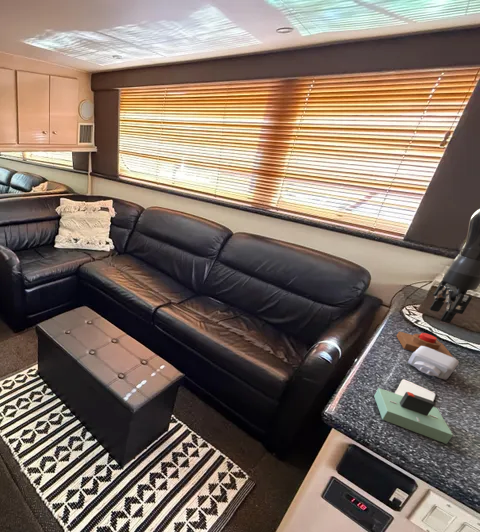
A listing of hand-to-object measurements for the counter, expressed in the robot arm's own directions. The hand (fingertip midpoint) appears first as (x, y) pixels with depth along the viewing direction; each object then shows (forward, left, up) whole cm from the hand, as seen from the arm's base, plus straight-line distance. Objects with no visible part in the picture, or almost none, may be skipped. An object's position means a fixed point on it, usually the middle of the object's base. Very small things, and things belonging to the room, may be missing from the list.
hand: (438, 315), depth 105 cm
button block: (-3, -7, -16) cm, 18 cm away
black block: (+12, +42, -13) cm, 45 cm away
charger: (0, +10, -16) cm, 19 cm away
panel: (+12, +42, -16) cm, 46 cm away
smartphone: (+7, +29, -16) cm, 34 cm away
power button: (-3, -7, -12) cm, 15 cm away
